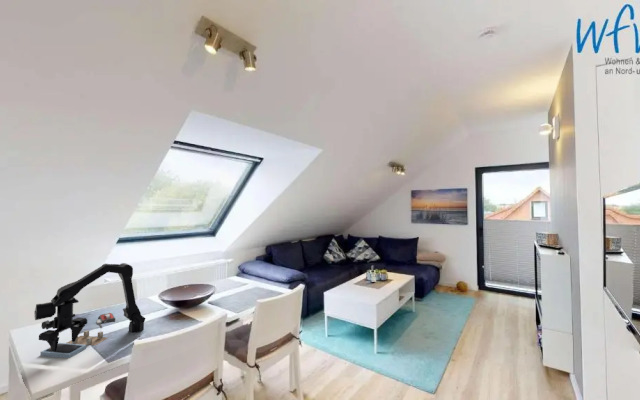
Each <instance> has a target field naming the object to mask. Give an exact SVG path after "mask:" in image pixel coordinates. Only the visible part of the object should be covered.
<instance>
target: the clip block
mask: <svg viewBox="0 0 640 400" xmlns="http://www.w3.org/2000/svg"><path fill="white" fill-rule="evenodd" d="M106 340H108V337H104V331H101V330H100V331H98V332H97V336H90V330H85V331H83V335H78V337H77V338H76V340H75V341H74V342H72V339H71V340H69V341H68V342H66V343H67V344H79V345H86V346H96V345H98V344H100V343H101V342H104V341H106Z"/></svg>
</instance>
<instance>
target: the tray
mask: <svg viewBox="0 0 640 400" xmlns="http://www.w3.org/2000/svg"><path fill="white" fill-rule="evenodd" d="M58 344H68V343H67V342H58ZM69 344H70V343H69ZM70 345H77V349H76V350H74V351H73V352H71V353H59V352H50V347H48V348H46V349H44V350H41V351H40V356H41V357H54V358H65V359H66V358H67V359H70V358H72V357H74V356H75V355H77V354H78V353H81V352H82V351H84V350H86V349H87V345H83V344H70Z"/></svg>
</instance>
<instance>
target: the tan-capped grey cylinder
mask: <svg viewBox="0 0 640 400" xmlns="http://www.w3.org/2000/svg"><path fill="white" fill-rule="evenodd" d="M49 348H50V352H54V351H52V349H51V347H50V346H49ZM76 349H77V345H70V343H67V344H58V345H57V349H56V351H55V352H59V353H71V352H73V351H74V350H76Z"/></svg>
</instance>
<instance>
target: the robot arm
mask: <svg viewBox="0 0 640 400" xmlns="http://www.w3.org/2000/svg"><path fill="white" fill-rule="evenodd" d="M107 273H113V274H117V275H118V277H119V279H120V280H121V283H122V289H123V293H124V299H125V308H122V311H123V316H124V317H125V318H126V319H127V320H128V321H129V325H128V332H130V333H132V334H135V333H140V332H142V331H144V330H145V329H144V327H145V321H146V317H145V316H143V315H142V312H141V311H140V308H139V307H138V305H137V303H136V298H135V292H134V286H133V281H132V279H133V274H134V269H133V266H132V265H130V264H128V263H126V262H121V263H120V264H119V263H118V264H117V263H104V264H102V265H101V266H99V267H98V268H96V269H94V270H93V271H91V272H90V273H88V274H86V275H84V276H83V277H81V278H80V279H78V280H77V281H74V282H69V283H68V284H66V285H63V286H61V287H60V288H58V289H57V292H56V294H55V295H54V296H53V298H52V299H51V300H50V302H45V303H37V304H35V309H34V311H33V312H34V315H33V316H34V321H38V320H42V319H47V318H52V317H53V316H55V315H56V316H55V317H54V318H53V319H51V320H45V321H42V322H41V329H42V330H45V329H46V330H45V331H43V332H41V333H39V334H38V340H39V341H45V342H47V343H48V345H49V348H50V347H51V349H52V351H54V352H55V351H56V349H57V345H58V343H59V340H60V337H59V336H60V333H62V332H65V331H67V330H68V329H70V330H71V340H72V342H74V341H75V340H76V338H77V337H79V336H80V333H81V332H82V330H83V328H84V327H85V326H86V325H88V319H87V317H76V314H75V313H74V304H77V303H79V300H78V299H77V298H75V296H77V295H78V294H79V293H80V291H82V290H83V289H84V288H85V287H87V286H88V285H90V284H92V283H93V282H95V281H96V280H98V279H99V278H101V277H103V276H104V275H106V274H107ZM75 317H76V318H75ZM51 328H52V329H51ZM53 329H54V330H53Z"/></svg>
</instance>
